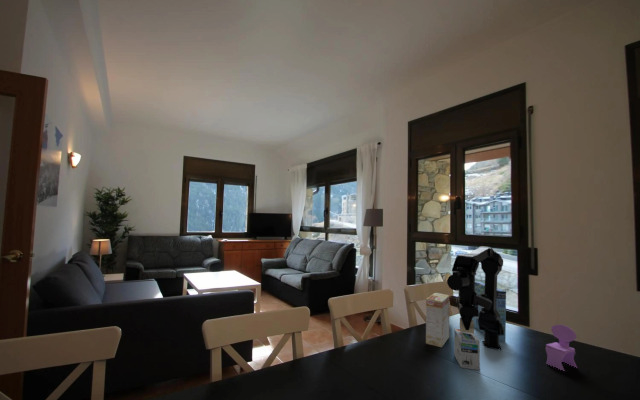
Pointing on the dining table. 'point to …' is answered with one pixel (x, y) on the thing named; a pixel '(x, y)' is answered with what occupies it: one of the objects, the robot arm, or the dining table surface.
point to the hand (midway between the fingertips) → (466, 327)
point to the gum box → (499, 306)
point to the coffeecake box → (437, 319)
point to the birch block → (462, 329)
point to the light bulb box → (467, 349)
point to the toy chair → (561, 347)
